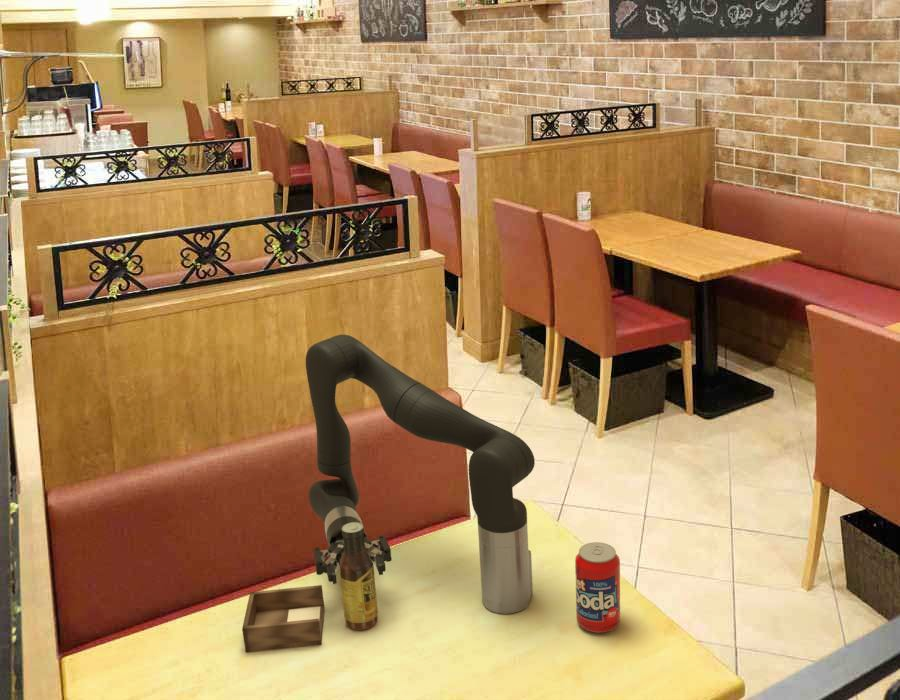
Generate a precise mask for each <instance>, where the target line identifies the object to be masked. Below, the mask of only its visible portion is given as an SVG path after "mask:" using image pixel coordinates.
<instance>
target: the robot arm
mask: <svg viewBox="0 0 900 700" xmlns="http://www.w3.org/2000/svg"><path fill="white" fill-rule="evenodd" d="M305 372H306V379H307V383H308V388H309V393H310V394H309V395H310V400H311V406H312V410H313V414H314V422H315V427H316V452H317V453H316V459H317V460H316V463H317V469H318V471H319V472H320V473H321V474H323V475H325V476H329V477H334V478H333V479H323V480H322V479H320V480H317V481H315V482H314V483H313V484H312V485H311V486H310V488H309V491H308V501H309V504H310V506H311V509H312V510H313V512H314V513H315V514H316V515H317V517H319V519H321V520H322V521H323V524H324V533H325V538H326V541H327V544H328V548H327V549H324V550H323V549H322V550H321V548H320V547H319V546H318V547H314V548H313V555H314V564H315V571H316V575H317V576H321V575H323V574H324V573H325V574H326V576H327V580H328V582H330V583H332V585H336V584H338V580H337V573H336V571H340V558H341V555H342V554H343V553H344V539H343V536H342V527H343V526H344V525H345V524H348V523H352V522H358V523H361V524H362V525H363V526H364V524H363V521H362V520H361V517H360V515H359V514H358V512H357V508H356V506H357V505H358V504H359V500H360V494H359V489H358V486H357V484H356V480H355V478H354V474H353V470H352V465H351V464H352V463H351V462H352V461H351V446H352V445H351V442H352V440H351V434H350V430H349V428H348V425H347V423H346V422H345V420H344V418H343V417H342V415H341V414H340V412H339V410H338V408H337V403H336V392H337V385H338V384H340V383H343V382H345V381H348V380H350V379H354V380H356V381H358V382H360V383H362V384H364V385H365V386H367V387H368V388H371V390H373V392H374V393H375V394H376V396H377V398H378V400H379V403H380V405H381V407H382V409H383V411H384V413H385V415H386V416H387V417H388V419H389V420H391V421H392V422H394V423H395V424H396V425H397V426H399V427H400V428H402V429H404V430H405V431H407V432H408V433H410V434H411V435H413V436H416V437H418V438H421V439H424V440H427V441H432V442H435V443H436V442H437V443H443V444H448V445H449V444H450V445H452V446H453V445H454V446H458V447H461V448H464V449H466V450H468V451H470V452H472V454H471V455H470V458H469V462H468V478H469V479H468V480H469V487H470V498H471V504H472V507H473V508H472V509H473V511H474V513H475V515H476V519H477V532H478V533H477V534H478V535H477V537H478V548H479V549H478V550H479V566H480V567H479V569H480V570H479V571H480V582H481V583H480V584H481V586H480V587H481V601H482V605H483V606H484V607H485V608H486V609H487V610H489V611H490V612H493V613H496V614H501V615H503V614H505V615H506V614H508V615H509V614H513V613H514V614H515V613H518V612H521V611H523V610H525V609H526V608H527V607H528V606H529V605H530V602H531V596H532V595H533V594H534V589H533V566H532V564H533V563H532V551H531V550H530V549H529V534H528V531H529V530H528V512H527V507H526V504H525V503H524V502H522V501H521V500H520V499H518V498H515V497H514V493H513V488H514V487H515V486H516V485H517V484H519V483H520V482H522V481H523V480H525V479H526V478H527V477H528V476H529V475H530V474H531V473H532V471H534V468H535V464H536V463H535V455H534V453H533V450H532V449H531V448H530V447H529V445H528V444H527V442H525V441H524V440H523V439H522V438H521V437H519V436H517V435H516V434H514V433H512V432H510V431H508V430H506V429H504V428H501V427H499V426H498V425H495V424H493V423H491V422H488V421H486V420H485V419H483V418H480V417H478V416H477V415H475V414H473V413H471V412H469V411H467V410H466V409H464V408H463V407H461V406H459V405H458V404H455V403H454V402H452V401H450V400H449V399H447V398H446V397H444V396H442V395H440V394H439V393H438V392H436V391H435V390H433V389H431V388H430V387H428V386H426V385H425V384H423V383H422V382H420V381H418V380H417V379H414V378H412V377H411V376H409V375H408V374H406V373H405V372H403V371H401V370H400V369H399V368H397V367H395V366H394V365H392V364H390V363H389V362H387V361H386V360H384V359H383V358H382V357H380V356H379V355H378V354H377V353H376V352H374V351H373V350H371V349H370V348H369V347H368V346H366V345H365V344H364V343H363V342H362V341H360V340H358V339H356V338H355V337H353V336H351V335H348V334H338V335H334V336H332V337H330V338H327V339H324V340H321V341H318V342H316V343H314V344H312V345H311V346H310V347H308V349H307V352H306V354H305ZM377 537H378V538H377V539H376V540H371V539H370V538H368V536H367V533H366V531H365V529H364V544H365V548H366V550H367V552H368V554H369V556H370V558H371V560H372V562H373V565H375V567H376V570H377V573H378V575H379V576H382V575H384V572H386V567H387V566H386V562H387V563H389V562H391V561H392V560H393V559H392V558H393V557H392V552H391V550H392V549H391V546H390V545H389V543H388V540H387V539H386V537H385V535H379V536H377ZM327 557H328V559H326V558H327Z"/></svg>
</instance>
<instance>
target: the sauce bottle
mask: <svg viewBox="0 0 900 700" xmlns="http://www.w3.org/2000/svg"><path fill="white" fill-rule="evenodd" d="M362 524H363V523H362ZM362 524H361V523H358V522H352V523H348V524H345V525H344V526H343V527H342V536H343V539H344V553H343V554H342V555H341V558H340V569H339V571H340V572H339V573H340V574H339V575H340V585H341V595H342V606H343V615H344V619H345V624H346V625H347V627H348V628H350V629H351V630H354V631H364V630H368V629H370V628H372V627H374V625H376V624H377V621H378V613H379V612H378V611H379V610H378V600H377V590H376V588H377V587H376V578H375V567H374V563H373V562H372V560H371V558H370V556H369V554H368V552H367V550H366V548H365V544H364V530H365V527H364V524H363V525H362Z"/></svg>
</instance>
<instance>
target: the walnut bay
mask: <svg viewBox="0 0 900 700" xmlns="http://www.w3.org/2000/svg"><path fill="white" fill-rule="evenodd" d="M323 593H324V591H323V585H322V584H319V585H309V586H299V587H289V588H288V587H287V588H279V589H269V590H259V591H250V592H249V597H248V599H247V605H246V609H245V615H244V617H243V619H244V620H243V623H242V627H241V628H242V629H241V632H242V637H243V641H244V642H243V644H244V650H245V653H254V652H261V651H262V652H264V651H272V650H282V649H283V650H284V649H291V648H302V647H311V646H313V647H314V646H321V645H322V643H323V642H322V640H323V629H324V620H325V619H324V616H325V601H324V594H323Z"/></svg>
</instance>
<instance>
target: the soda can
mask: <svg viewBox="0 0 900 700" xmlns="http://www.w3.org/2000/svg"><path fill="white" fill-rule="evenodd" d="M616 551H617V550H616V548H615V547H613V546H612V545H611V544H609V543H605V542H598V541H597V542H594V541H593V542H588V543H585V544H583V545H581V546H580V548H579V550H578V553H577V554H576V556H575V561H574V562H575V565H574V568H575V571H574V572H575V606H576V608H575V609H576V614H575V615H576V621H577V623H578V625H579V626H580V627H581V628H583V629H584V630H586V631H588V632H592V633H607V632H610V631H613V630H614V629H616V628H617V627H618V626H619V624H620V621H621V559H620V556H619V555H618V554H617V552H616Z"/></svg>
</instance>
